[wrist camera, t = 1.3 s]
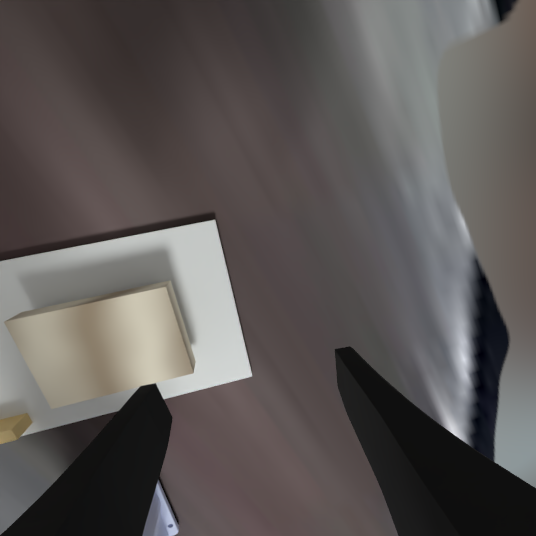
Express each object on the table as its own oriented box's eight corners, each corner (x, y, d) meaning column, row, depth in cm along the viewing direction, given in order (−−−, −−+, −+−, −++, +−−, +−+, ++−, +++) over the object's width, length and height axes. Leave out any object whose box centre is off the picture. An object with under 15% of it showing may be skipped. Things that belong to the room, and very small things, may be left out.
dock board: (251, 372, 23) (253, 388, 21) (-146, 474, 19) (-187, 504, 18) (215, 219, 19) (213, 221, 17) (-293, 317, 15) (-366, 334, 14)
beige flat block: (173, 276, 19) (165, 286, 16) (197, 354, 21) (193, 373, 18) (32, 306, 18) (3, 321, 15) (72, 384, 20) (51, 409, 17)
